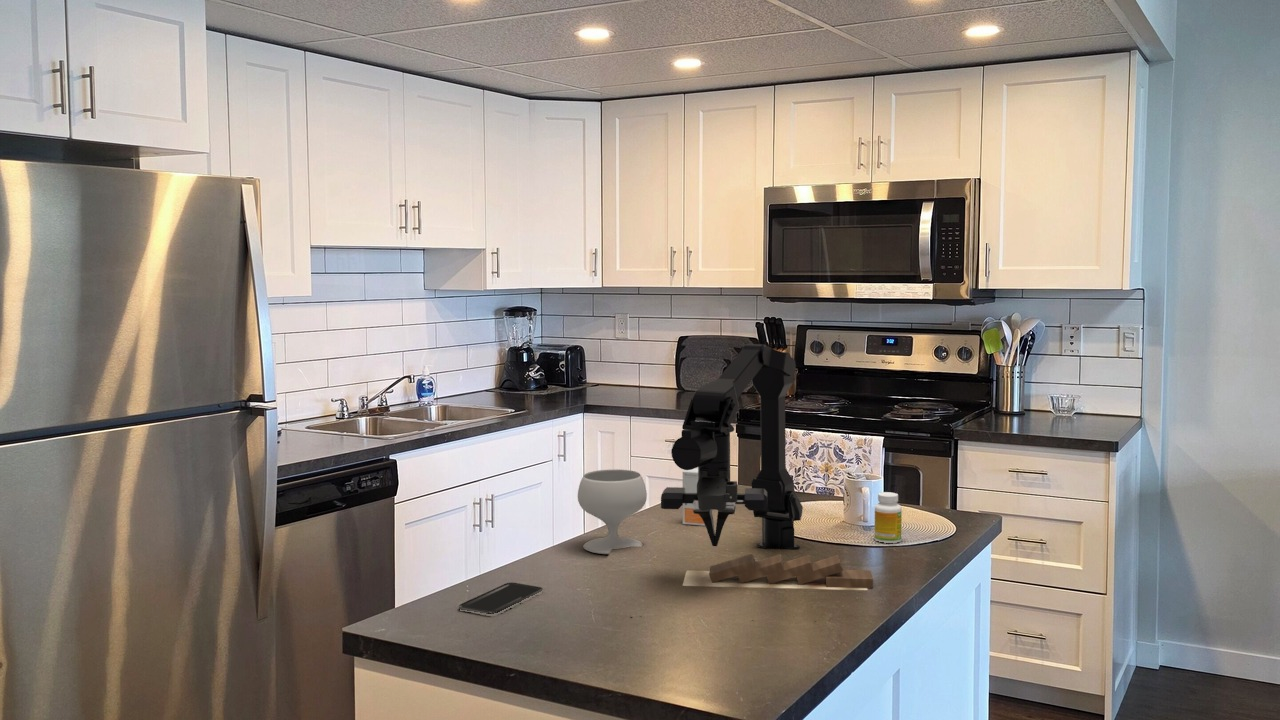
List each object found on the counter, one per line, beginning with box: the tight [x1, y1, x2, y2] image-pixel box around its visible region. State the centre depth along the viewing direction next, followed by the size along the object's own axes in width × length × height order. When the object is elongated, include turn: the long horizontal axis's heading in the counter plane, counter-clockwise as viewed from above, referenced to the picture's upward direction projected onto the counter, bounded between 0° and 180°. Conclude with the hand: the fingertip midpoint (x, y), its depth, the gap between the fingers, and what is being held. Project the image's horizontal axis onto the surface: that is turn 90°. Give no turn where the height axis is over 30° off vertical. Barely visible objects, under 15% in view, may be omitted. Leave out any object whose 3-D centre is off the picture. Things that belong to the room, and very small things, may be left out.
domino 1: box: [709, 552, 756, 583], centre depth 189 cm, size 2×5×8 cm
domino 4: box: [796, 554, 844, 585], centre depth 187 cm, size 2×5×8 cm
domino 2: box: [738, 553, 785, 583], centre depth 188 cm, size 2×5×8 cm
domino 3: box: [767, 554, 813, 584], centre depth 187 cm, size 2×5×8 cm
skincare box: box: [682, 467, 714, 527], centre depth 232 cm, size 6×4×12 cm
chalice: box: [577, 468, 648, 555], centre depth 213 cm, size 14×14×15 cm
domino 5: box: [825, 569, 874, 589], centre depth 185 cm, size 2×5×8 cm
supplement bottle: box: [873, 491, 903, 544], centre depth 216 cm, size 5×5×10 cm
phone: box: [458, 582, 544, 614], centre depth 182 cm, size 8×1×15 cm
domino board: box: [682, 569, 869, 591], centre depth 188 cm, size 32×9×1 cm, turn 83°
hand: (714, 545), depth 189 cm, fingers closed
